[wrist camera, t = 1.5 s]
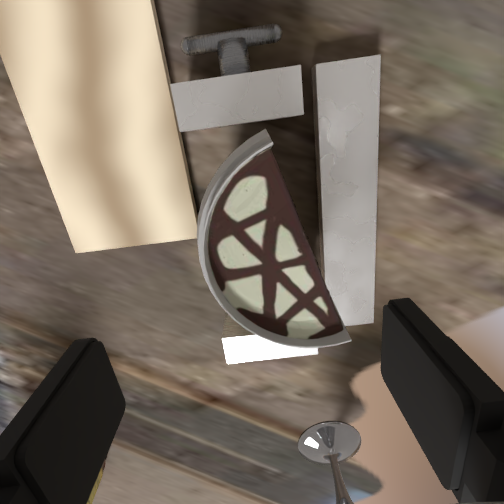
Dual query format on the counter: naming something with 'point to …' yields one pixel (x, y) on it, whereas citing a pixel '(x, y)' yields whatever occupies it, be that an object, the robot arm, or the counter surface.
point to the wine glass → (331, 450)
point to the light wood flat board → (101, 118)
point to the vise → (327, 159)
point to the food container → (263, 253)
